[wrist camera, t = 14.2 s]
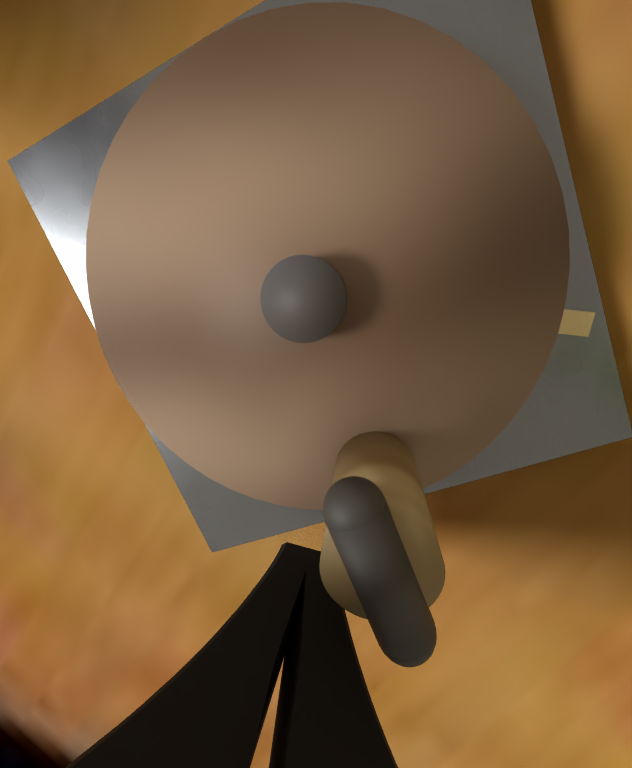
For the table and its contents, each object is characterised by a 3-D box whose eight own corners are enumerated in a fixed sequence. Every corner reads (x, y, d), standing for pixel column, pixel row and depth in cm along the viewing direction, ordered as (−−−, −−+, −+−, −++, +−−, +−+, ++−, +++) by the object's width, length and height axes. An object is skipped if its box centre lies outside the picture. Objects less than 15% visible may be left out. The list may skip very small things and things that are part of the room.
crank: (45, 178, 10) (-295, 64, 5) (464, -71, 7) (676, -825, 2) (231, 544, 12) (134, 729, 7) (597, 442, 10) (848, 613, 5)
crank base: (38, 172, 11) (4, 159, 10) (481, -95, 8) (499, -151, 7) (223, 533, 13) (211, 554, 12) (609, 423, 11) (636, 438, 10)
